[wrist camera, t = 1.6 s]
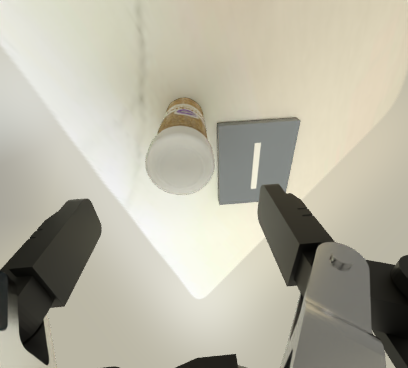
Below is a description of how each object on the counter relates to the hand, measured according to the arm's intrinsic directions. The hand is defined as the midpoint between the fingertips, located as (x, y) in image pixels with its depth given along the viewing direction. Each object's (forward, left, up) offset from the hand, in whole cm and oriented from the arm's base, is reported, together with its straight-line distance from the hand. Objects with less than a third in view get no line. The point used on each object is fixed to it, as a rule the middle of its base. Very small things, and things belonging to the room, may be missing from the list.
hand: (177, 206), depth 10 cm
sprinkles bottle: (0, 0, -18) cm, 18 cm away
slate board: (+7, +9, -17) cm, 21 cm away
